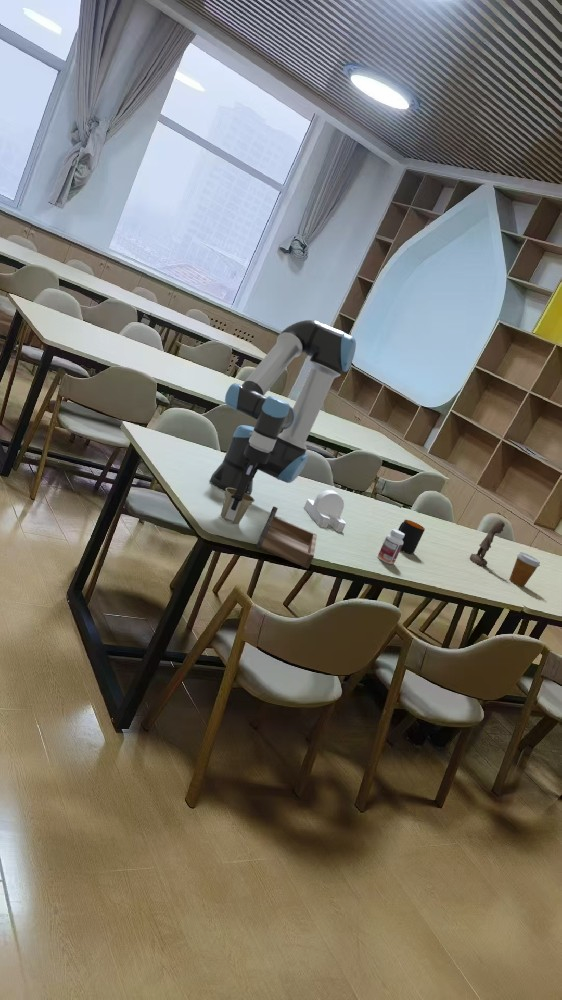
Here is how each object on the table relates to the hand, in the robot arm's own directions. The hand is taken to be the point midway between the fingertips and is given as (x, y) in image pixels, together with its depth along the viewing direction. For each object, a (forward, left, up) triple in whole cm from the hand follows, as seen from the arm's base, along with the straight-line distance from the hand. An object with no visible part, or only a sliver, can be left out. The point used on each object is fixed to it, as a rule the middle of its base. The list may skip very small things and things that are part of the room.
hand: (231, 515), depth 230 cm
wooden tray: (+3, +19, -2) cm, 19 cm away
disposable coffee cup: (-80, +114, -2) cm, 139 cm away
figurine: (-88, +98, -2) cm, 132 cm away
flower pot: (0, 0, -2) cm, 2 cm away
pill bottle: (-29, +53, -2) cm, 60 cm away
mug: (-58, +61, -2) cm, 84 cm away
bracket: (-49, +29, -2) cm, 57 cm away
